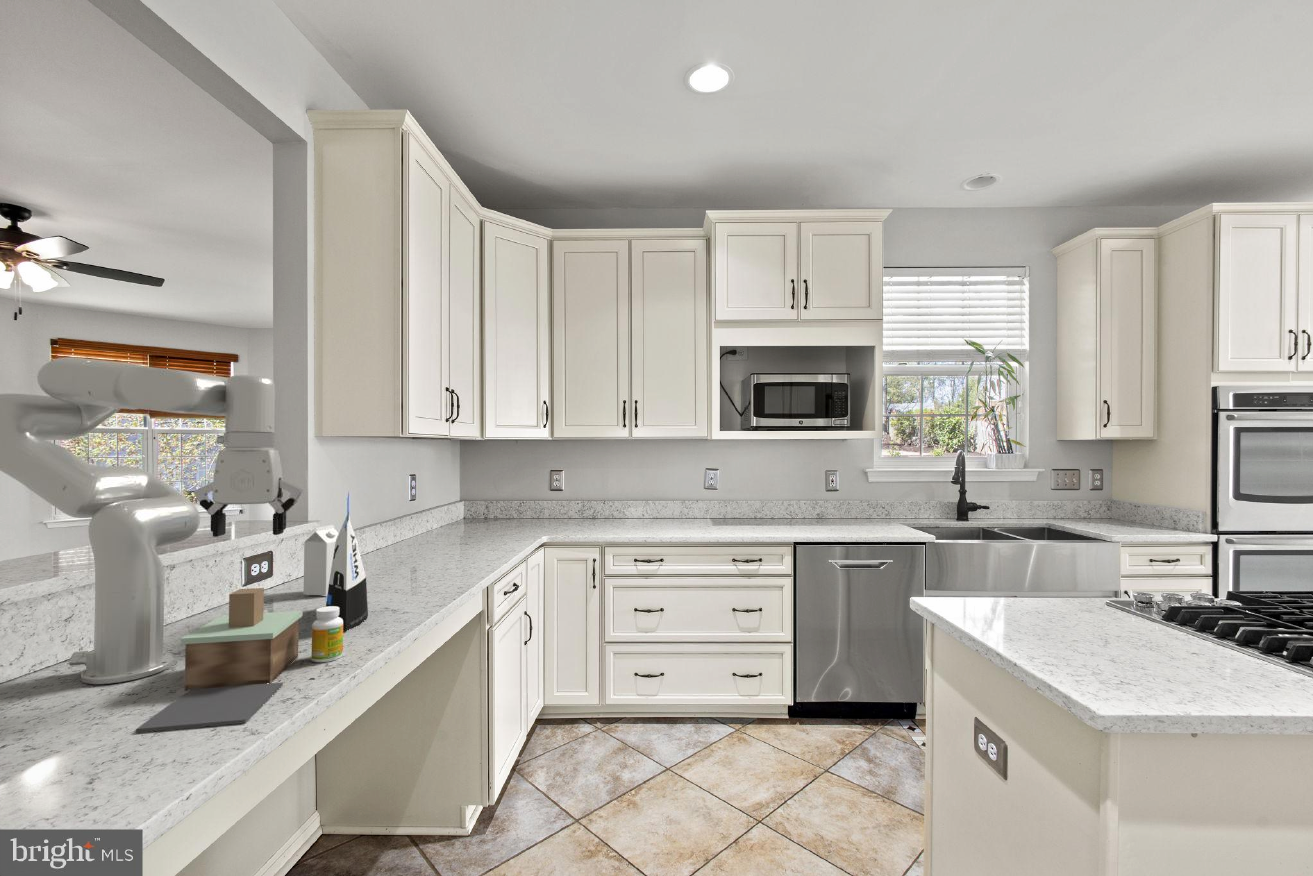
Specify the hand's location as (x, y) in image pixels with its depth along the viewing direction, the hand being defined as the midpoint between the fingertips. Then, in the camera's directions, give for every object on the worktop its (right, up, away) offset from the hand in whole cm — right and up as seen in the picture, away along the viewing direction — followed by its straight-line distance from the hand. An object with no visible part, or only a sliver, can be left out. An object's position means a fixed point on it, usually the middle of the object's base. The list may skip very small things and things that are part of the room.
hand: (249, 534), depth 107 cm
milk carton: (-19, -26, +57) cm, 66 cm away
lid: (0, -17, 0) cm, 17 cm away
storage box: (0, -25, 0) cm, 25 cm away
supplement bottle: (+10, -26, +7) cm, 29 cm away
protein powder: (0, -26, +34) cm, 43 cm away
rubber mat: (+5, -25, -15) cm, 29 cm away
